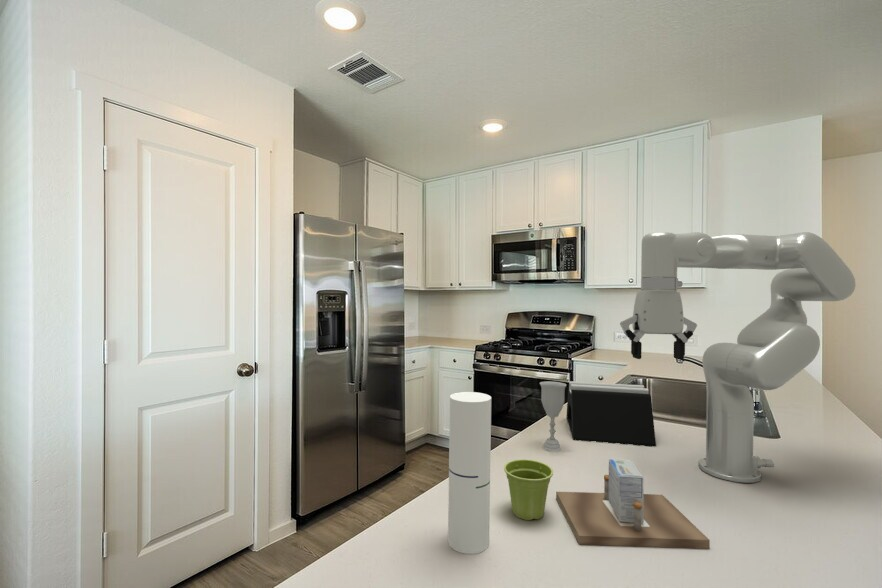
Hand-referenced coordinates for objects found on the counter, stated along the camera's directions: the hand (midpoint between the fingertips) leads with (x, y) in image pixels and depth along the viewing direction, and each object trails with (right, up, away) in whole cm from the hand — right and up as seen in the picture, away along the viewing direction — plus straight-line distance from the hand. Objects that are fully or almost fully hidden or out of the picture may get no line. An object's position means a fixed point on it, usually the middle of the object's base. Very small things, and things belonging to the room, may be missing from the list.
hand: (657, 358), depth 98 cm
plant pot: (-34, -28, -16) cm, 47 cm away
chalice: (-20, -28, +19) cm, 39 cm away
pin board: (-16, -28, -18) cm, 37 cm away
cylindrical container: (-46, -28, -26) cm, 60 cm away
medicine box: (-16, -27, -18) cm, 36 cm away
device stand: (+2, -29, +34) cm, 45 cm away
